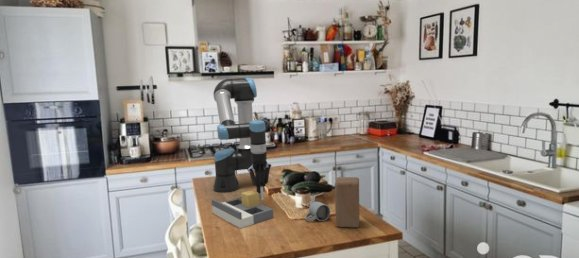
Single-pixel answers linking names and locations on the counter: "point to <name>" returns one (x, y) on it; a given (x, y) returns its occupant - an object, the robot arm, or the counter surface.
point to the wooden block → (347, 202)
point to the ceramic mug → (318, 212)
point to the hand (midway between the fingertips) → (261, 198)
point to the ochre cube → (250, 198)
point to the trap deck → (241, 212)
